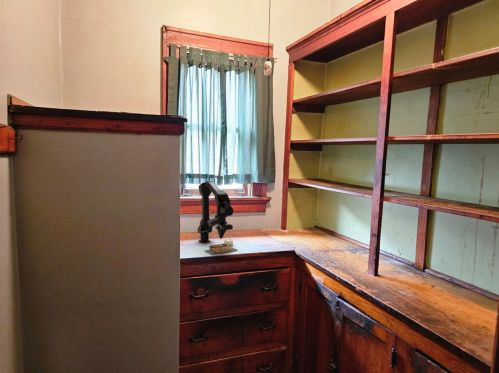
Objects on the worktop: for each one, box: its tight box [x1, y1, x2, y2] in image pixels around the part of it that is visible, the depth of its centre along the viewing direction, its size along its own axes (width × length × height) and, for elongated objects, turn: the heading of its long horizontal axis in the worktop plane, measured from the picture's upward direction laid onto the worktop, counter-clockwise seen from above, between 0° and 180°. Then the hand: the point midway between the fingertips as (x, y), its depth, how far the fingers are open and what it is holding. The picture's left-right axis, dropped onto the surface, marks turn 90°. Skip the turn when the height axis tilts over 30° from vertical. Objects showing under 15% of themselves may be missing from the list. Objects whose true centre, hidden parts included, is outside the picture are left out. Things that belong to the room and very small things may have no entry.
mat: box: [204, 246, 238, 256], centre depth 194 cm, size 9×18×1 cm, turn 124°
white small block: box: [223, 238, 234, 247], centre depth 207 cm, size 6×6×4 cm
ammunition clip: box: [208, 243, 232, 253], centre depth 193 cm, size 11×2×12 cm
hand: (220, 238), depth 194 cm, fingers closed
